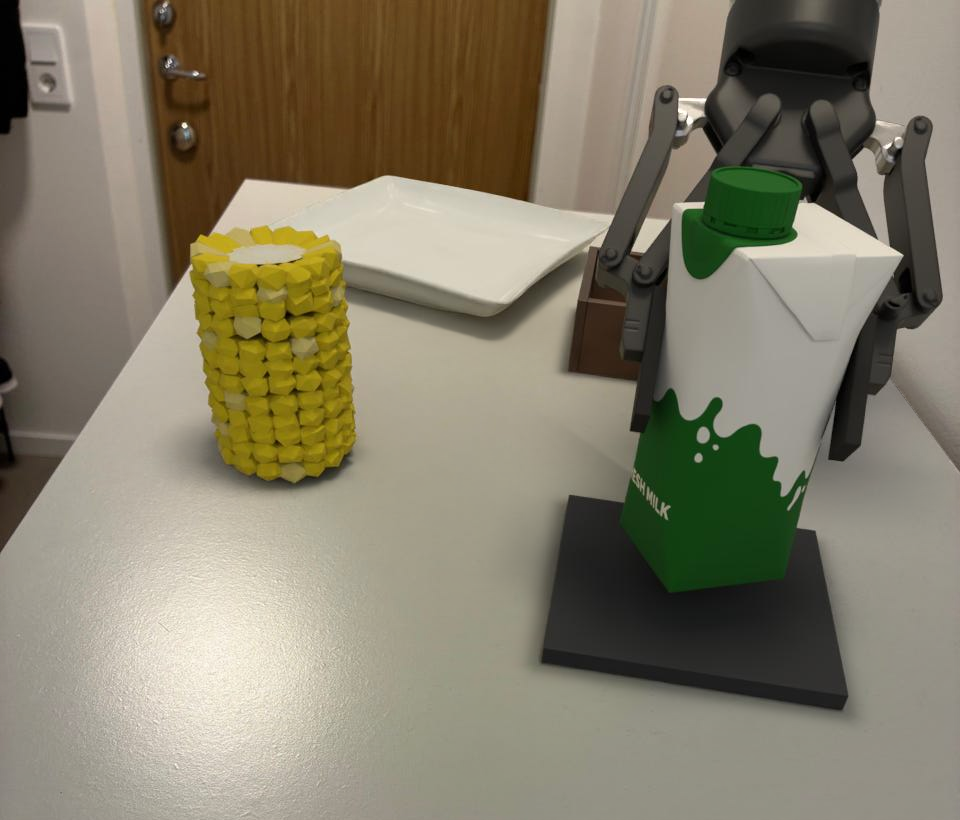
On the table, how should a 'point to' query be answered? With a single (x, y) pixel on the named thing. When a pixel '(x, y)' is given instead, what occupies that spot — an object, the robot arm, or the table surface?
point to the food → (275, 349)
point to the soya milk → (746, 376)
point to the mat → (691, 618)
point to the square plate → (444, 242)
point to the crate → (600, 326)
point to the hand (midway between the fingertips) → (741, 438)
